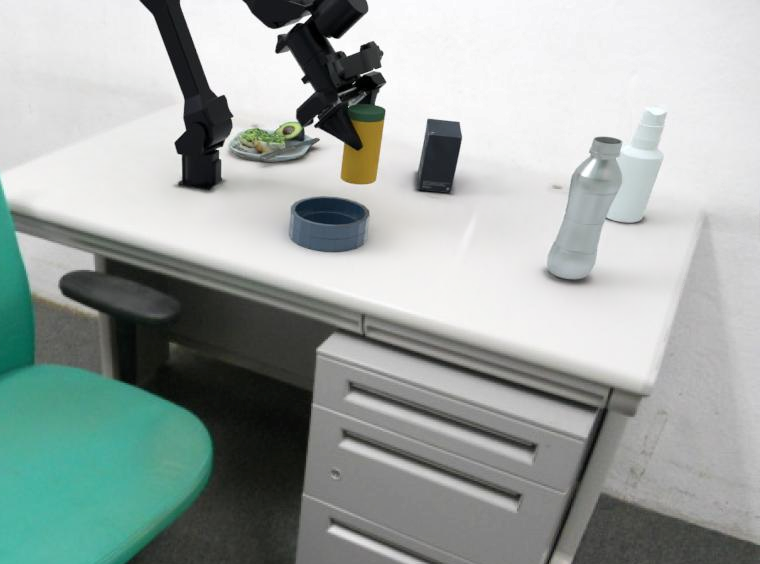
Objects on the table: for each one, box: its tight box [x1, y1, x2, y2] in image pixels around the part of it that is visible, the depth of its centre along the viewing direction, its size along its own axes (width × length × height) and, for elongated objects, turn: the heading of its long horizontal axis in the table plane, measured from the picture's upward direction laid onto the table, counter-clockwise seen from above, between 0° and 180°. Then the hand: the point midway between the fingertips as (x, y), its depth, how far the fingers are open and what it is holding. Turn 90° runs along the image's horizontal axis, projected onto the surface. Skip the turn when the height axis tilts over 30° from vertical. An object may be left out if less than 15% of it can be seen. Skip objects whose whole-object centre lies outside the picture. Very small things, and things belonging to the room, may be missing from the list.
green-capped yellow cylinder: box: [340, 104, 386, 186], centre depth 123 cm, size 6×6×11 cm
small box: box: [416, 118, 463, 194], centre depth 144 cm, size 11×6×10 cm, turn 168°
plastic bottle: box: [546, 136, 623, 280], centre depth 110 cm, size 6×7×20 cm
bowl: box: [288, 195, 371, 253], centre depth 123 cm, size 12×12×5 cm
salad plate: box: [227, 121, 321, 163], centre depth 159 cm, size 19×18×5 cm
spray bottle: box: [605, 106, 669, 223], centre depth 130 cm, size 7×7×18 cm
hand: (370, 144), depth 122 cm, fingers closed on green-capped yellow cylinder, 6 cm apart
